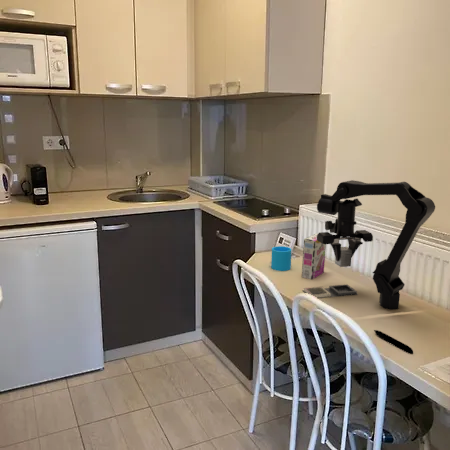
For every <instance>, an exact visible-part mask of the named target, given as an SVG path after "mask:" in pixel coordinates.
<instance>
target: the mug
mask: <svg viewBox="0 0 450 450" xmlns="http://www.w3.org/2000/svg"><path fill="white" fill-rule="evenodd" d="M270 262H271V263H270V264H271V267H270V268H271V269H272V270H273V271H276V272H277V271H278V272H279V271H280V272H286V271H290V270H291V267H292V248H291V247H289V246H284V245H283V246H282V245H279V246H273V247H271V261H270Z"/></svg>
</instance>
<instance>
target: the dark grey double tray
mask: <svg viewBox="0 0 450 450" xmlns="http://www.w3.org/2000/svg"><path fill="white" fill-rule="evenodd" d="M301 291H302V293H304V294H305V293H308V294H311V295H313V296H315V297H317V299H324V298H325V299H328V298H338V297H339V298H340V297H347V296H358V295H359V294H358V291H357V290H355V289H354V288H353V287H351V286H350V285H349V284H347V283H346V284H337V285H329V287H328V288H327V287H326V288H324V287H323V286H314V287H312V286H311V287H304V288H303V289H302V290H301Z"/></svg>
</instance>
